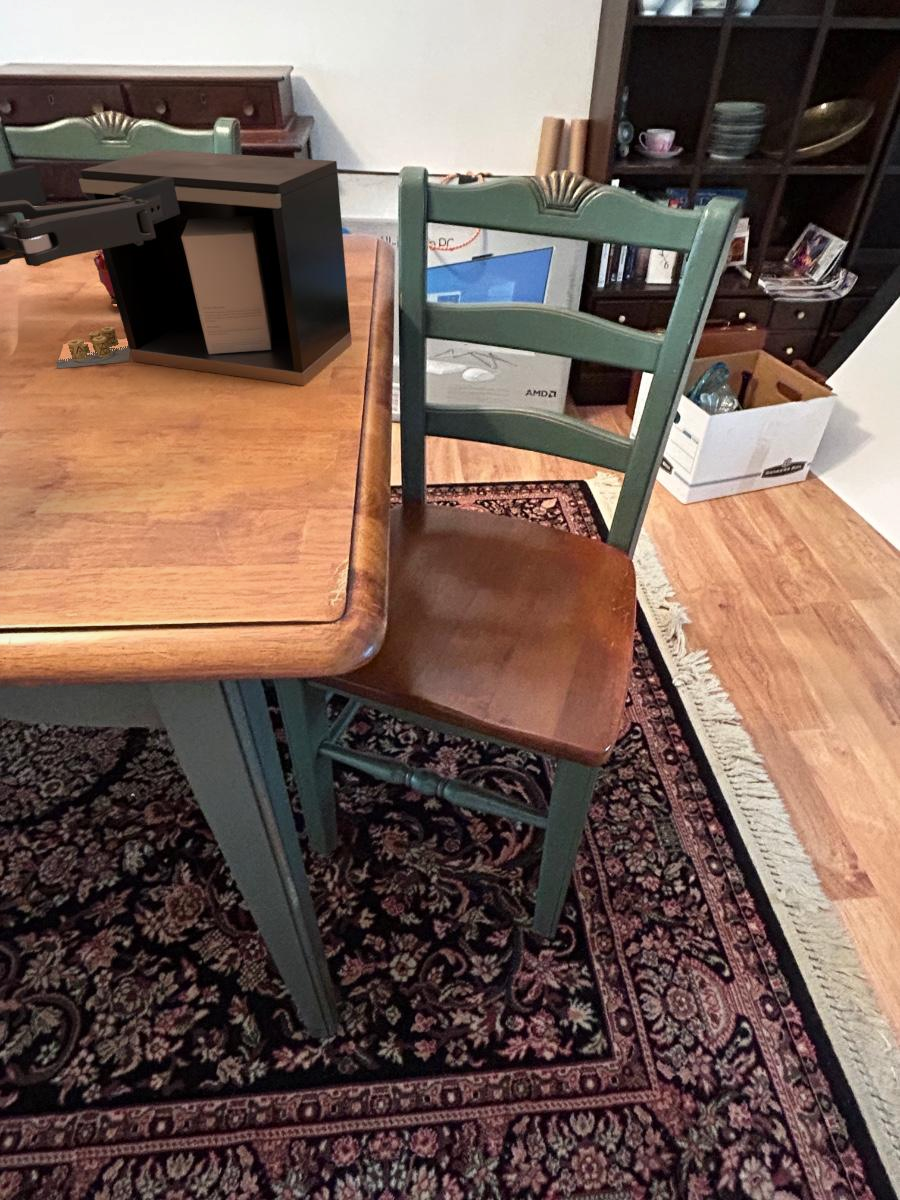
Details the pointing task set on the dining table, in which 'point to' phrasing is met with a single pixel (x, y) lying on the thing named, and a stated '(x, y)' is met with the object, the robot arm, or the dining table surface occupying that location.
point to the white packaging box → (228, 283)
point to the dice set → (96, 350)
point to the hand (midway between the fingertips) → (103, 189)
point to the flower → (104, 274)
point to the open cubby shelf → (287, 250)
